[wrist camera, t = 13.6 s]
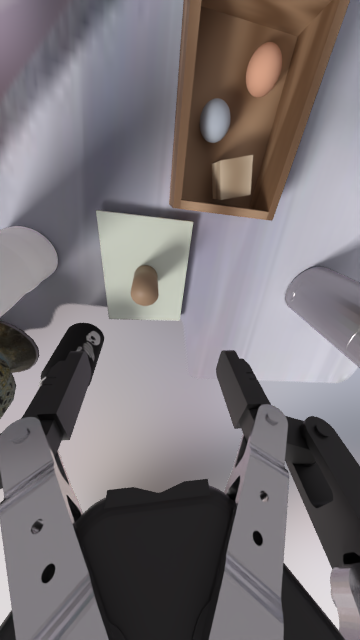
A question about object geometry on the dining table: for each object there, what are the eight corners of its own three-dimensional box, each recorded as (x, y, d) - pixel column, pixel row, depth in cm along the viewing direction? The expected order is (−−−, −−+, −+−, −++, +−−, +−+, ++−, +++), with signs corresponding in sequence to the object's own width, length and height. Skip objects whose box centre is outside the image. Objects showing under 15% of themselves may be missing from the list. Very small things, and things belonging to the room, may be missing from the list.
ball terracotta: (276, 58, 19) (296, 37, 16) (264, 105, 20) (280, 93, 18) (246, 50, 18) (262, 27, 16) (237, 99, 20) (249, 85, 17)
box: (304, 29, 18) (360, -30, 13) (250, 214, 27) (272, 220, 22) (184, -10, 16) (198, -96, 11) (169, 204, 25) (173, 207, 20)
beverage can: (68, 317, 33) (33, 370, 23) (106, 324, 35) (88, 376, 25) (68, 344, 37) (37, 400, 27) (103, 349, 38) (86, 403, 29)
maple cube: (240, 159, 23) (253, 154, 20) (238, 194, 25) (250, 194, 22) (211, 164, 23) (220, 160, 20) (212, 198, 25) (220, 200, 22)
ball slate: (228, 108, 20) (239, 96, 18) (221, 147, 22) (230, 142, 19) (199, 101, 20) (206, 88, 17) (194, 142, 22) (200, 136, 19)
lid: (191, 220, 27) (202, 229, 21) (178, 315, 36) (183, 342, 30) (99, 209, 25) (81, 216, 19) (110, 313, 34) (101, 341, 28)
